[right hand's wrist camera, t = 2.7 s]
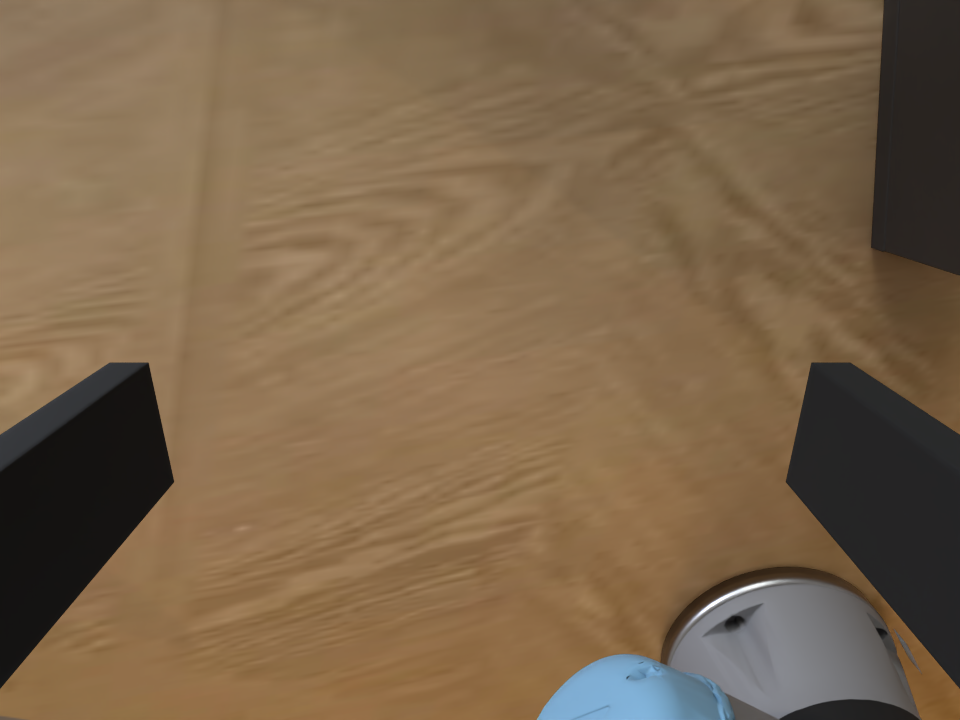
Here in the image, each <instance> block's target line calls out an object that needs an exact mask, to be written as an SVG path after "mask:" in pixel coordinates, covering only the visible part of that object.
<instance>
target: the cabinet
mask: <svg viewBox="0 0 960 720" xmlns="http://www.w3.org/2000/svg"><path fill="white" fill-rule="evenodd" d="M871 248H874V249H877V250H880V251H886V252H889V253H892V254H895V255H898V256H901V257H904V258H907V259H910V260H913V261H917V262H920V263H923V264H926V265H929V266H932V267H935V268H938V269H941V270H944V271H947V272H950V273H954V274H957V275H960V0H884V18H883V37H882V56H881V75H880V93H879V112H878V131H877V150H876V169H875V187H874V206H873V225H872V244H871Z"/></svg>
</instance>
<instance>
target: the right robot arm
mask: <svg viewBox="0 0 960 720" xmlns="http://www.w3.org/2000/svg"><path fill="white" fill-rule="evenodd" d="M173 483H174V479H173V474H172V470H171V465H170V460H169V456H168V451H167V447H166V442H165V437H164V433H163V428H162V423H161V419H160V414H159V409H158V405H157V400H156V395H155V391H154V386H153V382H152V377H151V372H150V368H149V363H109V364H107V365H105V366H104V367H102V368H101V369H99V370H98V371H96V372H95V373H93V374H92V375H90V376H89V377H87V378H86V379H84V380H83V381H81V382H80V383H78V384H77V385H75V386H74V387H72V388H71V389H69V390H68V391H66V392H65V393H63V394H62V395H60V396H58V397H57V398H55V399H54V400H52V401H51V402H49V403H48V404H46V405H45V406H43V407H42V408H40V409H39V410H37V411H36V412H34V413H33V414H31V415H30V416H28V417H27V418H25V419H24V420H22V421H21V422H19V423H18V424H16V425H15V426H13V427H11V428H10V429H8V430H7V431H5V432H4V433H2V434H1V435H0V688H1V687H2V686H3V685H4V684H5V682H6V681H7V680H8V679H9V678H10V676H11V675H12V674H13V673H14V672H15V670H16V669H17V668H18V667H19V666H20V665H21V663H22V662H23V661H24V660H25V659H26V657H27V656H28V655H29V654H30V653H31V651H32V650H33V649H34V648H35V647H36V646H37V644H38V643H39V642H40V641H41V640H42V638H43V637H44V636H45V635H46V634H47V632H48V631H49V630H50V629H51V628H52V626H53V625H54V624H55V623H56V622H57V621H58V619H59V618H60V617H61V616H62V615H63V613H64V612H65V611H66V610H67V609H68V607H69V606H70V605H71V604H72V603H73V602H74V600H75V599H76V598H77V597H78V596H79V594H80V593H81V592H82V591H83V590H84V588H85V587H86V586H87V585H88V584H89V583H90V581H91V580H92V579H93V578H94V577H95V575H96V574H97V573H98V572H99V571H100V569H101V568H102V567H103V566H104V565H105V564H106V562H107V561H108V560H109V559H110V558H111V556H112V555H113V554H114V553H115V552H116V550H117V549H118V548H119V547H120V546H121V545H122V543H123V542H124V541H125V540H126V539H127V537H128V536H129V535H130V534H131V533H132V531H133V530H134V529H135V528H136V527H137V526H138V524H139V523H140V522H141V521H142V520H143V518H144V517H145V516H146V515H147V514H148V512H149V511H150V510H151V509H152V508H153V506H154V505H155V504H156V503H157V502H158V501H159V499H160V498H161V497H162V496H163V495H164V493H165V492H166V491H167V490H168V489H169V487H170V486H171V485H172V484H173ZM786 483H787V484H788V485H789V486H790V487H791V489H792V490H793V491H794V492H795V493H796V495H797V496H798V497H799V498H800V499H801V501H802V502H803V503H804V504H805V505H806V506H807V508H808V509H809V510H810V511H811V512H812V514H813V515H814V516H815V517H816V518H817V520H818V521H819V522H820V523H821V524H822V526H823V527H824V528H825V529H826V530H827V531H828V533H829V534H830V535H831V536H832V537H833V539H834V540H835V541H836V542H837V543H838V545H839V546H840V547H841V548H842V549H843V550H844V552H845V553H846V554H847V555H848V556H849V558H850V559H851V560H852V561H853V562H854V564H855V565H856V566H857V567H858V568H859V569H860V571H861V572H862V573H863V574H864V575H865V577H866V578H867V579H868V580H869V581H870V583H871V584H872V585H873V586H874V587H875V588H876V590H877V591H878V592H879V593H880V594H881V596H882V597H883V598H884V599H885V600H886V602H887V603H888V604H889V605H890V606H891V607H892V609H893V610H894V611H895V612H896V613H897V615H898V616H899V617H900V618H901V619H902V621H903V622H904V623H905V624H906V625H907V626H908V628H909V629H910V630H911V631H912V632H913V634H914V635H915V636H916V637H917V638H918V640H919V641H920V642H921V643H922V644H923V646H924V647H925V648H926V649H927V650H928V651H929V653H930V654H931V655H932V656H933V657H934V659H935V660H936V661H937V662H938V663H939V665H940V666H941V667H942V668H943V669H944V670H945V672H946V673H947V674H948V675H949V676H950V678H951V679H952V680H953V681H954V682H955V684H956V685H957V686H958V687H959V688H960V435H959V434H958V433H956V432H955V431H953V430H952V429H950V428H949V427H947V426H945V425H944V424H942V423H941V422H939V421H938V420H936V419H935V418H933V417H932V416H930V415H929V414H927V413H926V412H924V411H923V410H921V409H920V408H918V407H917V406H915V405H914V404H912V403H911V402H909V401H908V400H906V399H905V398H903V397H902V396H900V395H898V394H897V393H895V392H894V391H892V390H891V389H889V388H888V387H886V386H885V385H883V384H882V383H880V382H879V381H877V380H876V379H874V378H873V377H871V376H870V375H868V374H867V373H865V372H864V371H862V370H861V369H859V368H858V367H856V366H855V365H853V364H851V363H811V368H810V372H809V377H808V382H807V386H806V391H805V395H804V400H803V405H802V409H801V414H800V419H799V423H798V428H797V433H796V437H795V442H794V447H793V451H792V456H791V460H790V465H789V470H788V474H787V479H786Z"/></svg>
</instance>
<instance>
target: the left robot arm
mask: <svg viewBox="0 0 960 720" xmlns="http://www.w3.org/2000/svg"><path fill="white" fill-rule="evenodd" d="M894 630H895V629H894ZM895 632H896V631H895ZM896 634H897V636H898V638H899V640H900V642H901V644H902V646H903V648H904V650H905V652H906V654H907V656H908V657H909V659H910V660H911V661H912V662H913V664H914V665H915V666H916V667H917V669H918V670H919V671H920V669H919V667H918V665H917V663H916V661H915V659H914V657H913V655H912V654H911V652H910V650H909V648H908V646H907V644H906V643H905V642H904V641H903V639H902V638H901V637H900V636H899V634H898V633H897V632H896ZM920 672H921V671H920ZM921 674H922V673H921ZM537 720H921V718H920V716H919V713H918V711H917V708H916V705H915V702H914V699H913V696H912V693H911V690H910V687H909V685H908V682H907V679H906V676H905V673H904V670H903V667H902V665H901V662H900V660H899V658H898V655H897V651H896V647H895V644H894V642H893V639H892V636H891V634H890V632H889V630H888V627H887V625H886V624H885V622H884V620H883V619H882V617H881V616H880V615H879V614H878V612H877V611H876V610H875V609H874V607H873V606H872V605H871V604H870V602H869V601H868V600H867V599H866V598H865V596H864V595H863V594H862V593H861V592H860V591H859V590H858V589H857V588H855V587H854V586H853V585H851V584H850V583H848V582H846V581H845V580H843V579H841V578H839V577H837V576H834V575H832V574H829V573H826V572H823V571H819V570H814V569H809V568H801V567H777V568H768V569H762V570H757V571H753V572H749V573H745V574H742V575H739V576H736V577H733V578H731V579H729V580H726V581H724V582H722V583H720V584H718V585H716V586H714V587H713V588H711V589H709V590H708V591H706V592H705V593H703V594H702V595H700V596H699V597H698V598H696V599H695V600H694V601H693V602H692V603H691V604H690V605H688V606H687V607H686V608H685V610H684V611H683V612H682V613H681V614H680V615H679V616H678V618H677V619H676V620H675V622H674V623H673V625H672V627H671V628H670V630H669V632H668V634H667V636H666V639H665V642H664V645H663V649H662V655H661V663H660V662H658V661H655V660H653V659H650V658H647V657H644V656H640V655H633V654H618V655H613V656H608V657H605V658H602V659H599V660H597V661H595V662H593V663H591V664H589V665H587V666H586V667H584V668H582V669H581V670H579V671H578V672H577V673H575V674H574V675H573V676H572V677H571V678H570V679H568V680H567V681H566V682H565V683H564V684H563V685H562V686H561V687H560V688H559V689H558V690H557V692H556V693H555V694H554V695H553V696H552V698H551V699H550V700H549V701H548V703H547V704H546V705H545V707H544V708H543V710H542V712H541V713H540V715H539V717H538V719H537Z"/></svg>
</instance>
